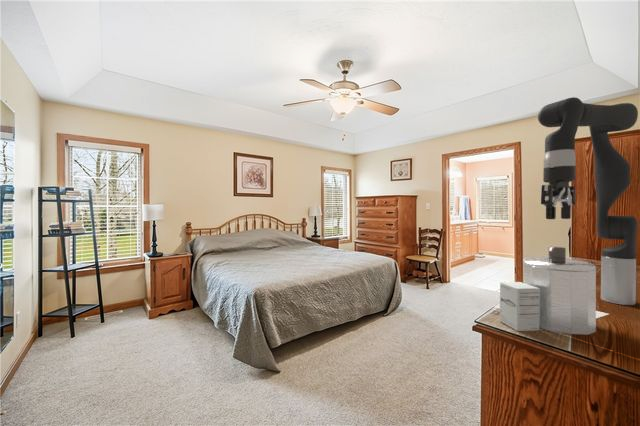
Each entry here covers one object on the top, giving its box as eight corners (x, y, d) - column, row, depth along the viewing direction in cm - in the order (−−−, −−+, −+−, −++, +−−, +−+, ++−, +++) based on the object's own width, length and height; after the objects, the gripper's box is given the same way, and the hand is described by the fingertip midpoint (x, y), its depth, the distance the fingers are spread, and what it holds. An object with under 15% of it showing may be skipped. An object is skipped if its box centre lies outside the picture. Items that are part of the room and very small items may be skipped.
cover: (541, 309, 98) (541, 242, 98) (607, 327, 83) (607, 248, 82) (511, 318, 91) (511, 246, 90) (577, 340, 76) (577, 254, 75)
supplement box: (498, 321, 89) (499, 281, 88) (520, 320, 89) (520, 281, 89) (516, 331, 81) (517, 288, 81) (540, 330, 82) (541, 287, 82)
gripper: (557, 169, 93) (556, 218, 93) (532, 166, 87) (531, 218, 87) (586, 166, 86) (585, 219, 86) (561, 162, 80) (560, 219, 80)
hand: (558, 219), depth 86 cm, fingers open, 8 cm apart
